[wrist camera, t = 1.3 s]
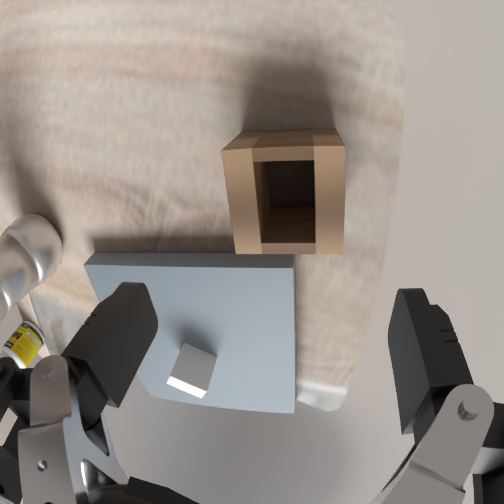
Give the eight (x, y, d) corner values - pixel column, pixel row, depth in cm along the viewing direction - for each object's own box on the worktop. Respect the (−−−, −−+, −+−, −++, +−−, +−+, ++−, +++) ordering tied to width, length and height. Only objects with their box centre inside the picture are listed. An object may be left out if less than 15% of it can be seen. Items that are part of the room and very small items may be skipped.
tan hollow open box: (241, 132, 19) (221, 150, 15) (335, 129, 18) (344, 146, 14) (250, 216, 22) (236, 254, 18) (336, 215, 21) (342, 254, 17)
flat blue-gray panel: (94, 252, 27) (58, 291, 22) (294, 252, 23) (289, 306, 18) (155, 383, 37) (139, 420, 32) (295, 399, 33) (291, 443, 28)
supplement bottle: (29, 317, 36) (-2, 357, 29) (50, 340, 38) (21, 381, 31) (19, 322, 37) (-10, 358, 30) (38, 344, 39) (12, 381, 32)
